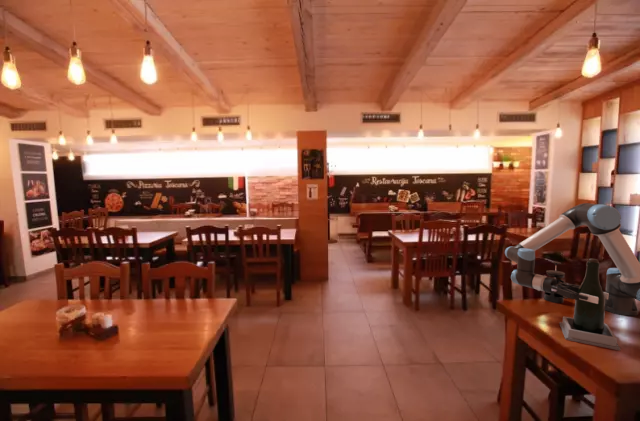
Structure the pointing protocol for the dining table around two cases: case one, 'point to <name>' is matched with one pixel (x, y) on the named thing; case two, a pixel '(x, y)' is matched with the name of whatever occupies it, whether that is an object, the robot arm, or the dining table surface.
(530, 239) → the robot arm
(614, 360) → the dining table surface
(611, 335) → the bottle stand
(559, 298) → the french press
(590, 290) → the beer bottle
